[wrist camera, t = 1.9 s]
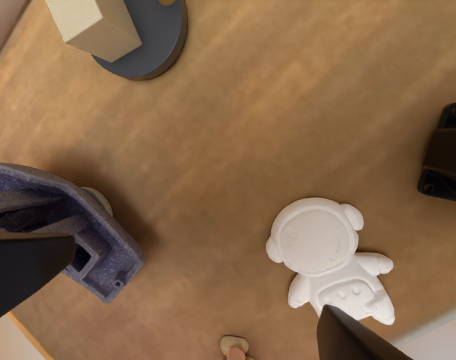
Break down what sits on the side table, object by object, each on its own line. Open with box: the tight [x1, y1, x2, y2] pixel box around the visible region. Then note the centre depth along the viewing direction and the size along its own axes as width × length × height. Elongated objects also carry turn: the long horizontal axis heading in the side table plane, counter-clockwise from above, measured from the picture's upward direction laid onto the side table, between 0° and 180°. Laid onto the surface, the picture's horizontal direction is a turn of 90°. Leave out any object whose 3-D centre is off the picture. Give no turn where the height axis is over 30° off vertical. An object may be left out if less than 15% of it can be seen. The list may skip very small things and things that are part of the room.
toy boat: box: [0, 163, 145, 303], centre depth 18 cm, size 15×8×13 cm, turn 49°
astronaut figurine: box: [266, 198, 395, 325], centre depth 19 cm, size 9×12×3 cm
